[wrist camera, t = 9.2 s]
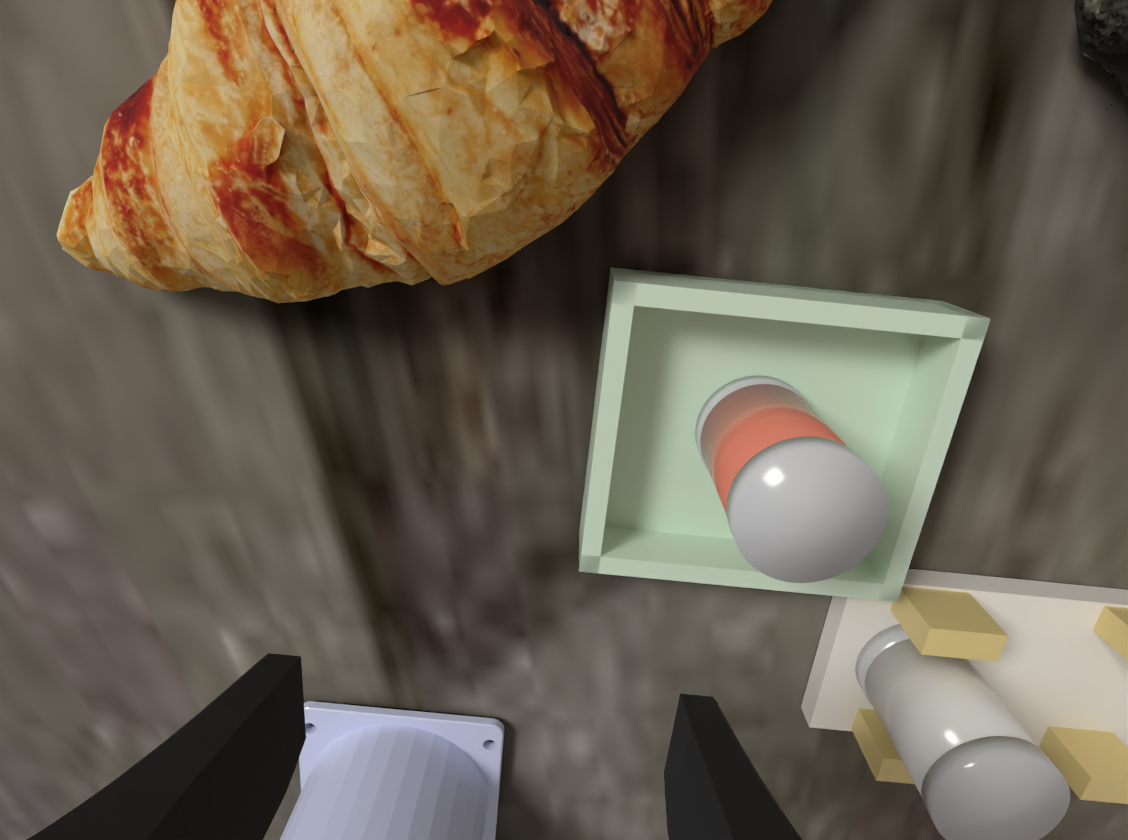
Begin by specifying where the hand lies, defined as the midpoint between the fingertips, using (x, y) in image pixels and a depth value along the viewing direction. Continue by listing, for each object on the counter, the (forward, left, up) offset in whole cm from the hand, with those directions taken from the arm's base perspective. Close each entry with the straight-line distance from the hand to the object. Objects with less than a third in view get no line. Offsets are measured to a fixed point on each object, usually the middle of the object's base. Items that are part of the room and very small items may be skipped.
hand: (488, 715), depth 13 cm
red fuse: (+3, -7, -10) cm, 12 cm away
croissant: (+12, +4, -11) cm, 16 cm away
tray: (+3, -7, -10) cm, 13 cm away
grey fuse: (-5, -14, -9) cm, 18 cm away
